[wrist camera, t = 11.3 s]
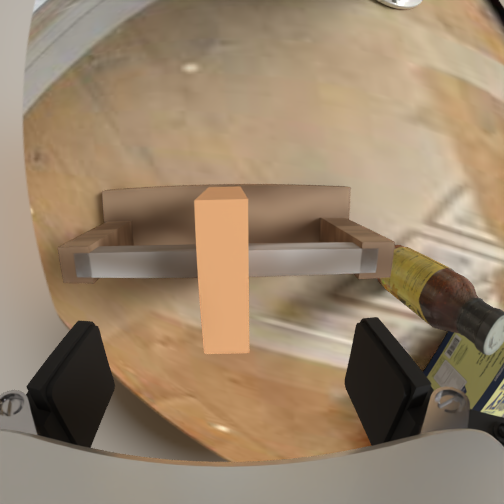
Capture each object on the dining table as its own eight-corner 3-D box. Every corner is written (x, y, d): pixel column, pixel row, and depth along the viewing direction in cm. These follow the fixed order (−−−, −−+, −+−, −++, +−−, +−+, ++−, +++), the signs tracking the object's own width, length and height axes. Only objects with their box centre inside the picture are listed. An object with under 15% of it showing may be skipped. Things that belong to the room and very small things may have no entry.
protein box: (490, 314, 42) (543, 352, 27) (449, 382, 46) (491, 430, 31) (463, 301, 40) (524, 345, 25) (417, 378, 44) (462, 435, 29)
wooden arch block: (208, 187, 28) (194, 200, 17) (240, 186, 28) (248, 199, 17) (212, 286, 31) (204, 353, 19) (241, 285, 31) (249, 352, 19)
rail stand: (107, 190, 32) (48, 204, 19) (345, 186, 34) (403, 199, 21) (114, 271, 35) (67, 320, 22) (340, 267, 37) (388, 314, 24)
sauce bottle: (368, 286, 38) (458, 373, 19) (379, 240, 36) (487, 304, 17) (407, 288, 38) (499, 363, 19) (418, 245, 37) (525, 303, 18)
